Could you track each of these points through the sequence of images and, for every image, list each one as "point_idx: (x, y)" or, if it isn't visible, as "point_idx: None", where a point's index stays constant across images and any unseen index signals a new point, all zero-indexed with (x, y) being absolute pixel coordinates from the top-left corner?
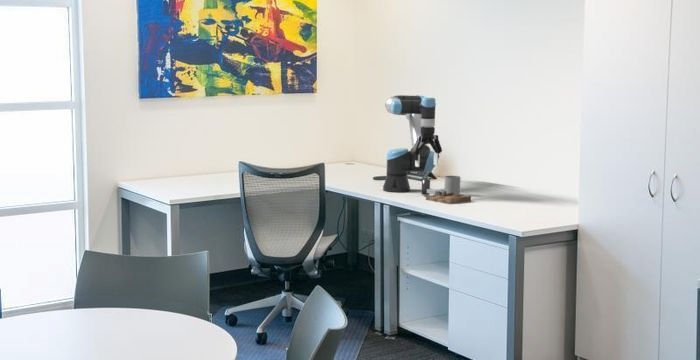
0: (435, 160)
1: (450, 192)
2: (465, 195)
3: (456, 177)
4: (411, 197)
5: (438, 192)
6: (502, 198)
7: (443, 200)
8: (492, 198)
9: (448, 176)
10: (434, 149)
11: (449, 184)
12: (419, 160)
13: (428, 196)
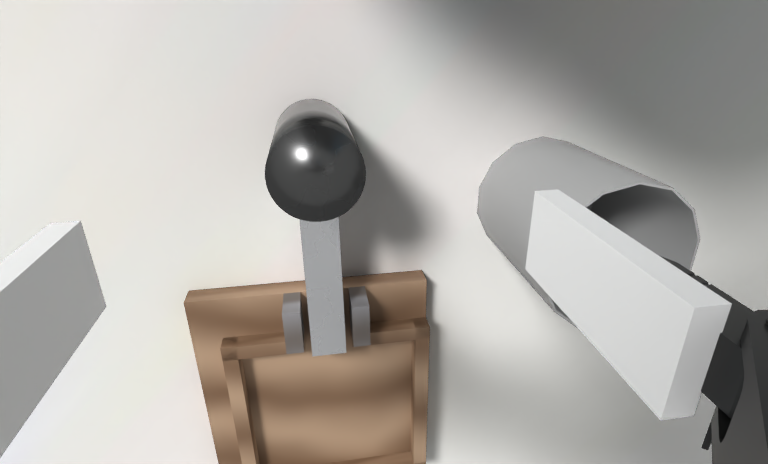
0: (569, 271)
1: (493, 240)
2: (420, 439)
3: (685, 231)
4: (128, 151)
5: (286, 345)
6: (647, 426)
7: (216, 448)
8: (606, 409)
9: (645, 184)
10: (741, 444)
11: (517, 261)
12: (44, 388)
13: (210, 300)
